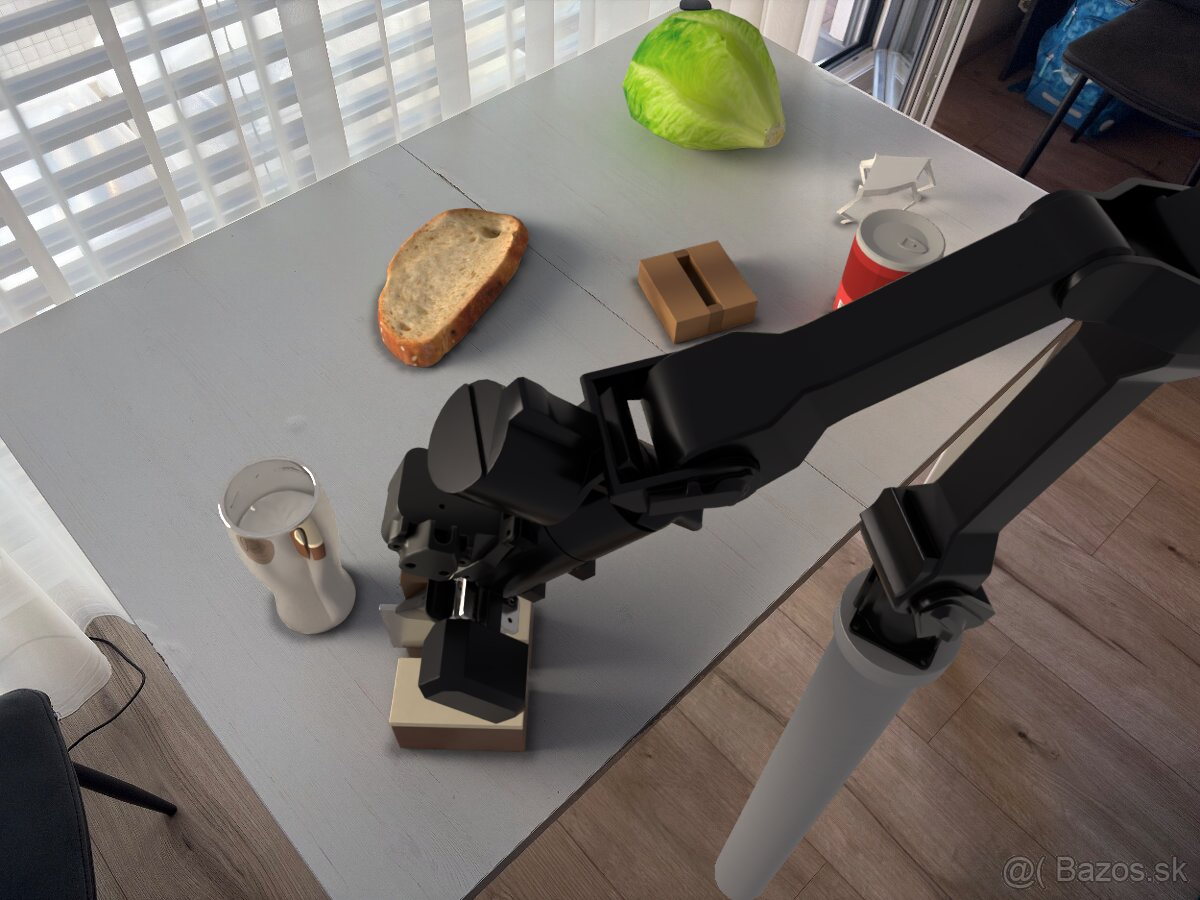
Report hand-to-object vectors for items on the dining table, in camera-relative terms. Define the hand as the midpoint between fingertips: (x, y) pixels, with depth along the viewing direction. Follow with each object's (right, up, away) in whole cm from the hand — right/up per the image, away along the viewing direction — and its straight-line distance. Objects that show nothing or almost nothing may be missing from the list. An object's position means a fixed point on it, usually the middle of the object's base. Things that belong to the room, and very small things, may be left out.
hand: (402, 599), depth 63 cm
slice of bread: (-1, +26, +34) cm, 43 cm away
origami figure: (+43, +36, +43) cm, 70 cm away
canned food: (+39, +22, +33) cm, 56 cm away
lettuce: (+24, +46, +50) cm, 72 cm away
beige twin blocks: (+3, -7, +10) cm, 13 cm away
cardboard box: (+22, +24, +34) cm, 47 cm away
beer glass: (-10, -2, +14) cm, 17 cm away
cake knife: (+1, -4, +6) cm, 7 cm away
